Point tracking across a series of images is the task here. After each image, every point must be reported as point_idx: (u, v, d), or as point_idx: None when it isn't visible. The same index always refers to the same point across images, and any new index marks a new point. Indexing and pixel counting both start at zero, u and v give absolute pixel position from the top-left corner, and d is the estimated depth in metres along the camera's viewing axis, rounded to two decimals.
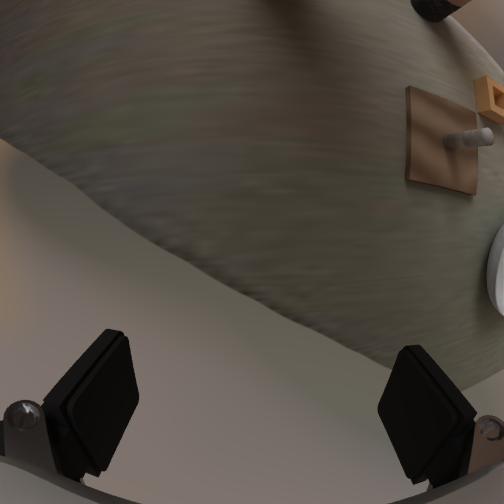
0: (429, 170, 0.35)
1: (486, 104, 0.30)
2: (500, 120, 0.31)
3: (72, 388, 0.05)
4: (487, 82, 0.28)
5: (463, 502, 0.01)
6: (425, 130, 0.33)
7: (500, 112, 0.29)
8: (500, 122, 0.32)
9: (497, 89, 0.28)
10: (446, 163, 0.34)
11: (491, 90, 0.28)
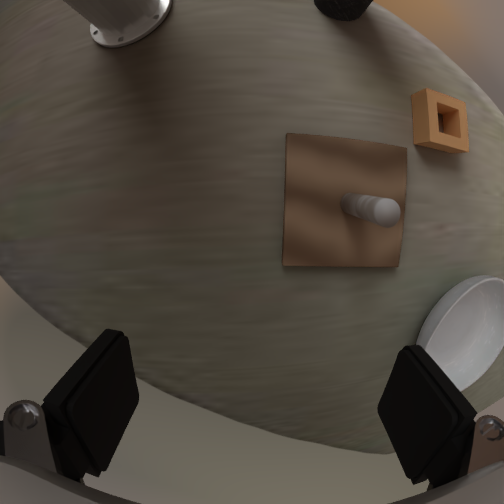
0: (315, 249, 0.32)
1: (424, 132, 0.27)
2: (451, 150, 0.28)
3: (72, 388, 0.05)
4: (427, 98, 0.25)
5: (463, 502, 0.01)
6: (310, 194, 0.30)
7: (449, 141, 0.26)
8: (452, 152, 0.29)
9: (446, 105, 0.25)
10: (346, 234, 0.31)
11: (434, 110, 0.25)
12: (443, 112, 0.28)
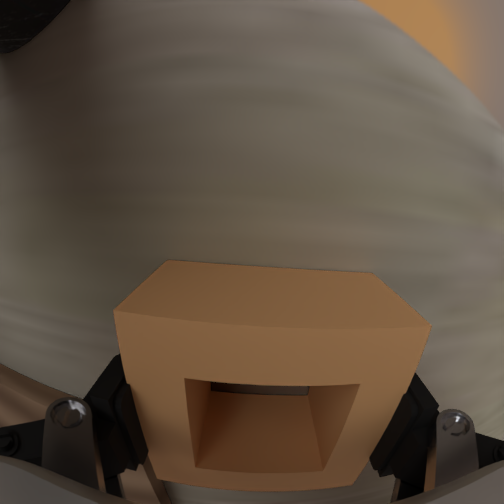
0: None
1: None
2: None
3: (119, 382, 0.06)
4: (128, 364, 0.06)
5: (463, 502, 0.01)
6: None
7: (250, 483, 0.07)
8: None
9: None
10: None
11: (167, 412, 0.06)
12: None
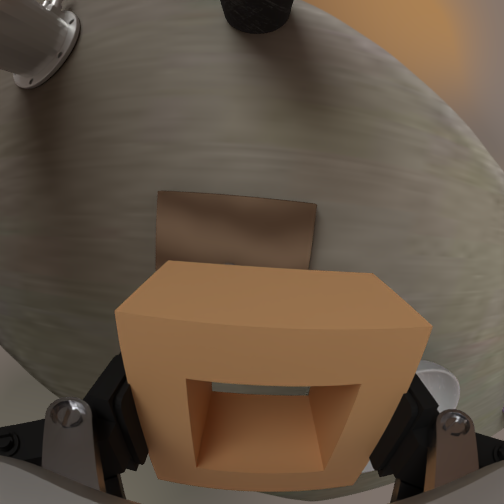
0: None
1: None
2: None
3: (119, 382, 0.06)
4: (129, 365, 0.06)
5: (463, 502, 0.01)
6: None
7: (251, 483, 0.07)
8: None
9: None
10: None
11: (168, 412, 0.06)
12: None
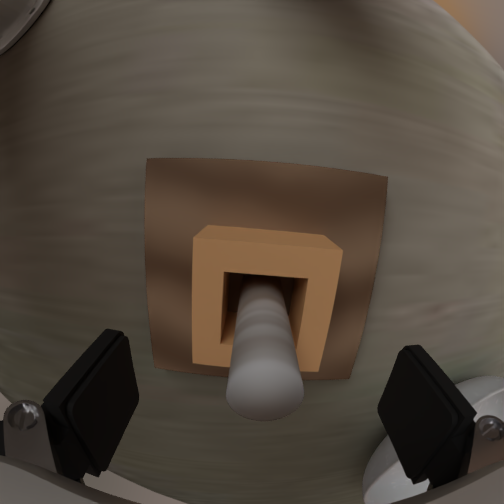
0: None
1: None
2: None
3: (72, 388, 0.05)
4: (195, 267, 0.13)
5: (463, 502, 0.01)
6: (185, 269, 0.17)
7: None
8: None
9: None
10: None
11: (211, 296, 0.13)
12: None
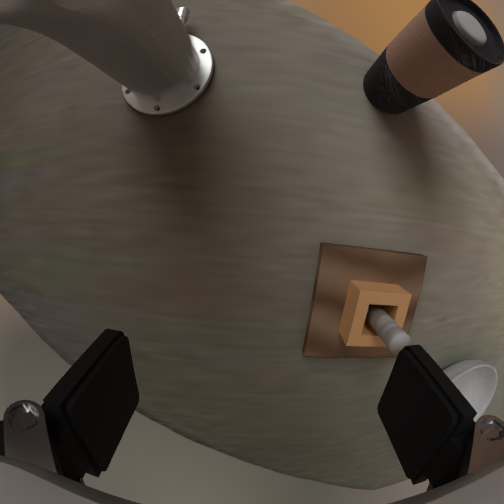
0: (333, 344, 0.35)
1: (346, 333, 0.31)
2: None
3: (72, 388, 0.05)
4: (358, 302, 0.29)
5: (463, 502, 0.01)
6: (335, 301, 0.34)
7: (372, 341, 0.30)
8: None
9: None
10: None
11: (362, 314, 0.30)
12: None
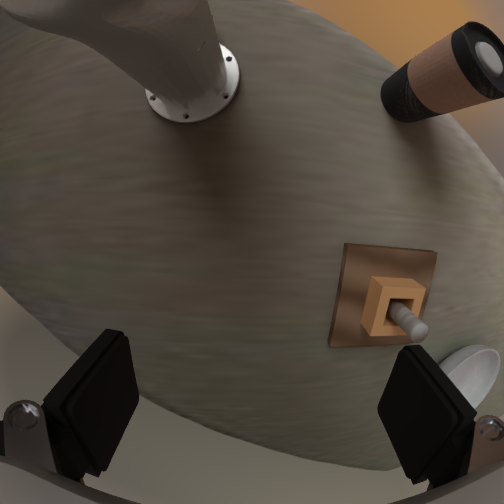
0: (355, 334, 0.38)
1: (369, 324, 0.34)
2: None
3: (72, 388, 0.05)
4: (380, 297, 0.32)
5: (463, 502, 0.01)
6: (358, 295, 0.36)
7: (392, 331, 0.33)
8: None
9: None
10: None
11: (384, 307, 0.32)
12: None
